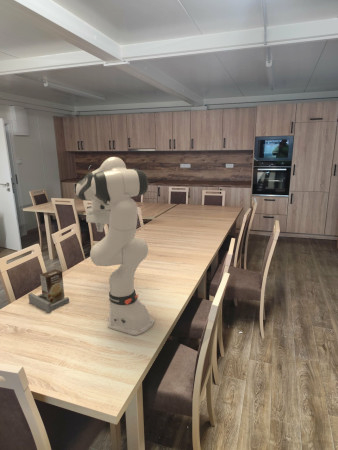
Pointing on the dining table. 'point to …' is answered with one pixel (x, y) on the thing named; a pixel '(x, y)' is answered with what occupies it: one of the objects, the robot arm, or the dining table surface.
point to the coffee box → (52, 286)
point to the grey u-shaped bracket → (45, 305)
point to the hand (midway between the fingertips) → (100, 231)
